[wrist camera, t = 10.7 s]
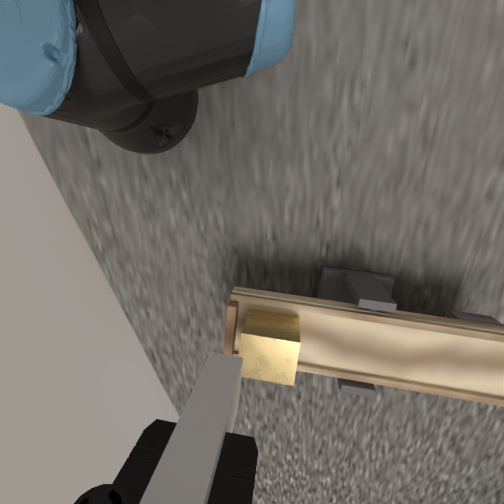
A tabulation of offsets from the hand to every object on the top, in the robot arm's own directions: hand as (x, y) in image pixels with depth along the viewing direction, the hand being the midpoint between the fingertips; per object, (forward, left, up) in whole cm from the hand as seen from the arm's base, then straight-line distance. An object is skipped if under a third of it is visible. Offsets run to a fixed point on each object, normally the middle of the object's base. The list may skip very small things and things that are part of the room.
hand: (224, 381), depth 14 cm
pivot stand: (+9, +13, -32) cm, 36 cm away
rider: (+9, +2, -22) cm, 23 cm away
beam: (+9, +13, -27) cm, 31 cm away
